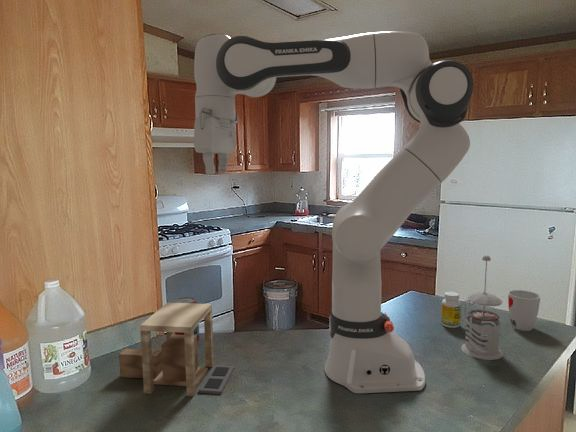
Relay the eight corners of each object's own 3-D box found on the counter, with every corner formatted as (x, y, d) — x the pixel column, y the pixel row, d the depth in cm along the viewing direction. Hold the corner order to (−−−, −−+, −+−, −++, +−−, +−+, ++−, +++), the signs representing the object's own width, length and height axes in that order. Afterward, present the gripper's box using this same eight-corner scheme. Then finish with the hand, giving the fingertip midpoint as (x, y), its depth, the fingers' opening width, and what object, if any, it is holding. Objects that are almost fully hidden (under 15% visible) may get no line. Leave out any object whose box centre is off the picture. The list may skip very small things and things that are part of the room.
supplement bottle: (445, 320, 127) (447, 289, 126) (463, 324, 123) (464, 293, 122) (437, 324, 124) (438, 293, 122) (455, 330, 120) (456, 297, 118)
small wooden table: (213, 364, 101) (211, 304, 99) (193, 396, 87) (190, 327, 85) (170, 361, 102) (167, 302, 100) (144, 393, 89) (140, 325, 87)
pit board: (234, 368, 99) (234, 365, 99) (221, 394, 88) (221, 390, 88) (214, 367, 99) (213, 364, 99) (198, 392, 89) (198, 389, 88)
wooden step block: (207, 370, 98) (205, 335, 96) (197, 386, 91) (195, 348, 89) (130, 366, 100) (128, 331, 99) (115, 381, 93) (112, 344, 92)
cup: (508, 320, 127) (510, 288, 125) (539, 326, 122) (541, 293, 121) (504, 328, 120) (506, 295, 119) (536, 335, 115) (539, 300, 114)
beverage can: (193, 349, 109) (191, 305, 108) (169, 347, 111) (167, 303, 109) (203, 338, 116) (201, 296, 114) (180, 336, 117) (179, 295, 115)
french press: (483, 363, 100) (489, 262, 97) (447, 344, 111) (451, 252, 107) (512, 355, 104) (518, 257, 101) (474, 337, 115) (478, 248, 111)
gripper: (215, 105, 83) (217, 175, 85) (239, 116, 103) (240, 172, 105) (185, 106, 84) (187, 175, 86) (215, 116, 104) (216, 172, 106)
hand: (216, 173), depth 95 cm, fingers open, 8 cm apart
